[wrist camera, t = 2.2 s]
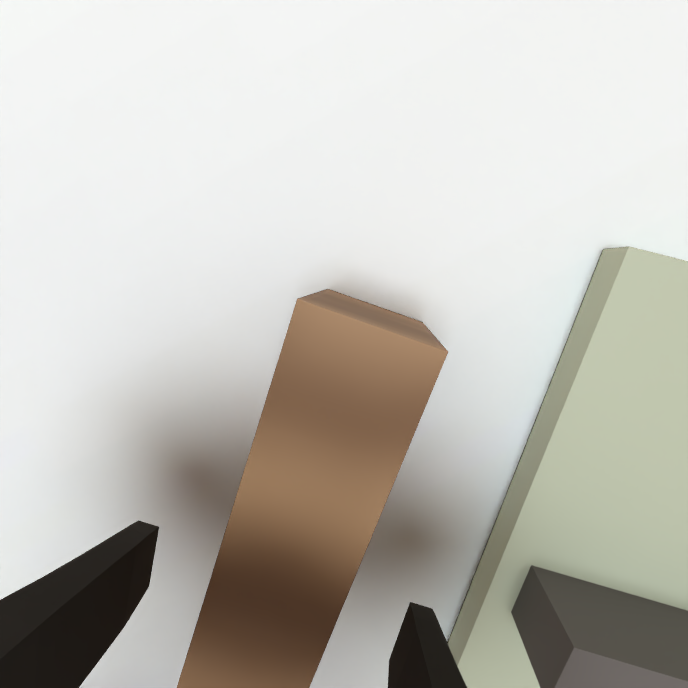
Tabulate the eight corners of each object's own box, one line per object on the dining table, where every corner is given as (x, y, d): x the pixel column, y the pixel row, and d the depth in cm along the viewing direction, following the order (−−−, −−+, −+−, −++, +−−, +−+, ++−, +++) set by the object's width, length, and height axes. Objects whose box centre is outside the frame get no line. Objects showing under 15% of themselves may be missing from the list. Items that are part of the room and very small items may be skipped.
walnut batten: (287, 665, 16) (247, 836, 11) (214, 637, 16) (142, 796, 11) (421, 321, 13) (448, 351, 8) (328, 288, 13) (297, 298, 8)
